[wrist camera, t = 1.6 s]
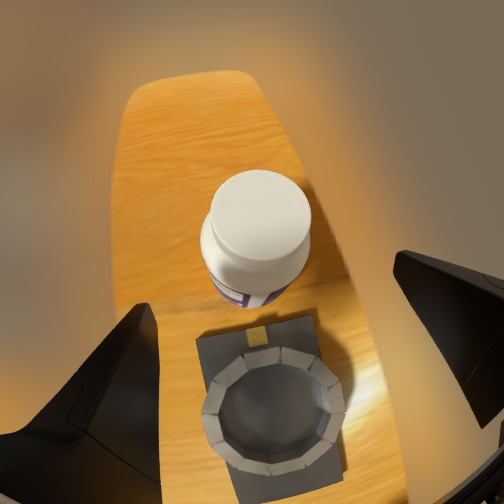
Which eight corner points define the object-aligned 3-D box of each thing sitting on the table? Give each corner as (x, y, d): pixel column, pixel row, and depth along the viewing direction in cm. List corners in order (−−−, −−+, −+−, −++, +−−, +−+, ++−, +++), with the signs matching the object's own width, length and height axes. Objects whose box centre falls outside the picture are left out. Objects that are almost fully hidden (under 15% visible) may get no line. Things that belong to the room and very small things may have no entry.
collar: (344, 444, 15) (352, 451, 14) (222, 475, 14) (221, 484, 13) (318, 313, 18) (325, 310, 17) (188, 339, 17) (184, 339, 16)
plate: (340, 476, 15) (343, 480, 14) (240, 501, 14) (240, 506, 13) (308, 315, 19) (311, 314, 18) (197, 338, 18) (195, 338, 17)
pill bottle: (279, 233, 21) (311, 153, 12) (291, 303, 19) (343, 269, 10) (207, 241, 20) (189, 162, 11) (215, 314, 19) (197, 288, 9)
